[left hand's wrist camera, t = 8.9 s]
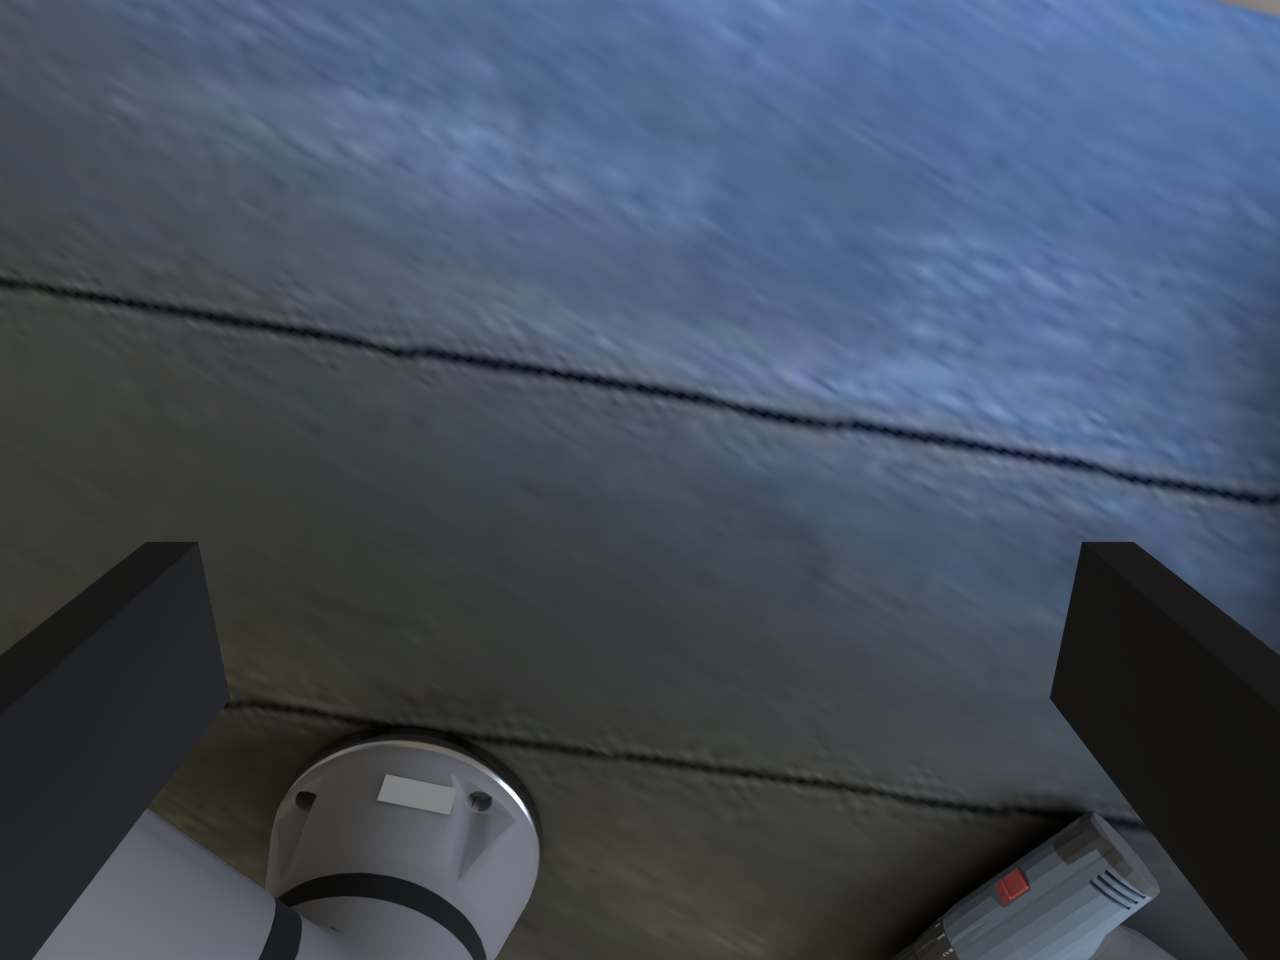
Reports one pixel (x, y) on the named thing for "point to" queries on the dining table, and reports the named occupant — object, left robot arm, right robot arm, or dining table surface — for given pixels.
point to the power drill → (1052, 905)
